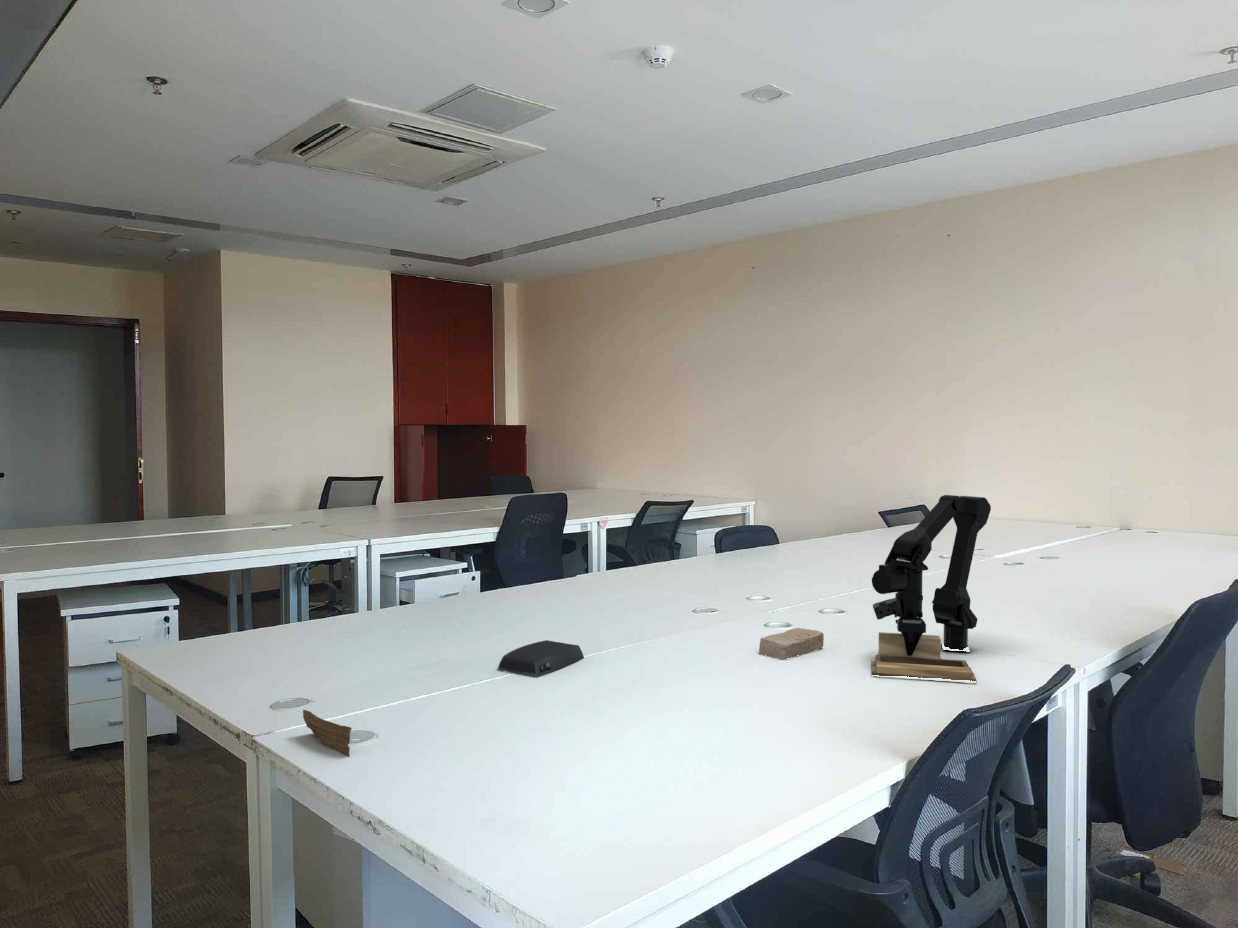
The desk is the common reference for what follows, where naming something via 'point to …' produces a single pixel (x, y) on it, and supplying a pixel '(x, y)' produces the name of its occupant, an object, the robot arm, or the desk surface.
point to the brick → (791, 643)
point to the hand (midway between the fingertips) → (908, 653)
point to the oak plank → (896, 646)
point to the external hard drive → (540, 658)
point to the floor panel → (921, 661)
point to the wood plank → (329, 732)
